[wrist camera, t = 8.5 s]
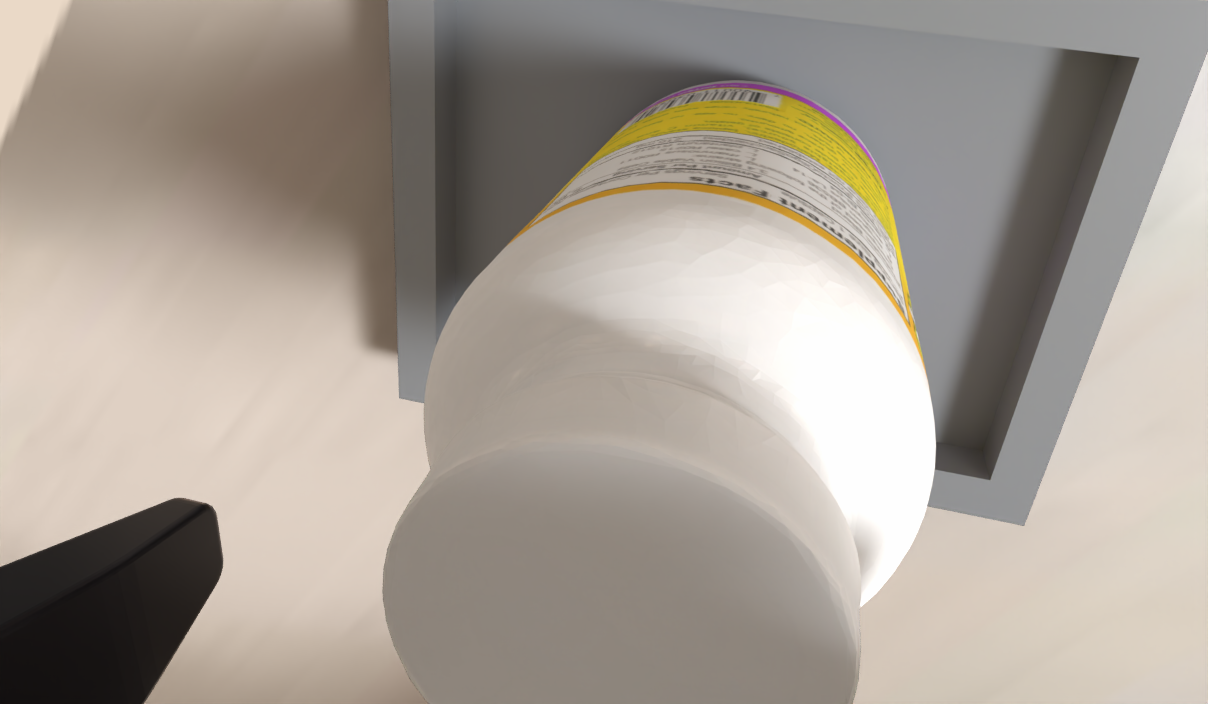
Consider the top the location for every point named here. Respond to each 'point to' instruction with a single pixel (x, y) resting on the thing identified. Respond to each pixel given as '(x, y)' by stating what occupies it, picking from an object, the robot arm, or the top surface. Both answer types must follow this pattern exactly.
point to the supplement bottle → (672, 426)
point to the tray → (882, 122)
